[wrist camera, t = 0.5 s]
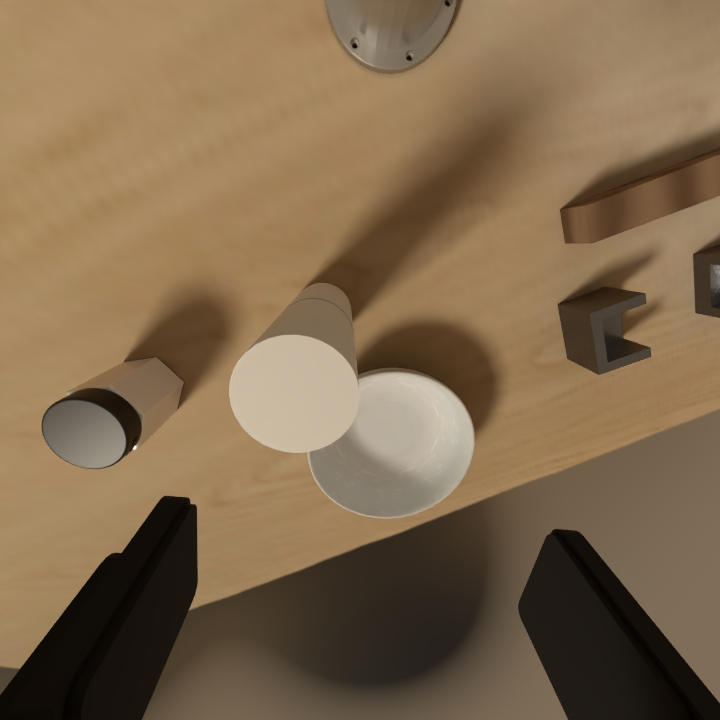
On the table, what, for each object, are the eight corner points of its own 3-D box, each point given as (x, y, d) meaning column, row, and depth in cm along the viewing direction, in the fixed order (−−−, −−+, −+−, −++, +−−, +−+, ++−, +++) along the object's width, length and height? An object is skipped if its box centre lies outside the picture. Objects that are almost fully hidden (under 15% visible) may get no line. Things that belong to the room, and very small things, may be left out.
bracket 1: (567, 358, 46) (598, 374, 40) (557, 304, 43) (589, 313, 37) (612, 342, 45) (651, 356, 40) (605, 286, 43) (645, 293, 37)
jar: (129, 419, 46) (58, 476, 35) (105, 363, 43) (20, 406, 32) (194, 409, 46) (144, 463, 34) (174, 352, 43) (113, 391, 32)
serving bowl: (487, 422, 49) (509, 450, 42) (381, 506, 53) (386, 543, 46) (390, 321, 43) (399, 335, 37) (280, 424, 47) (270, 452, 41)
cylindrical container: (360, 298, 42) (381, 367, 18) (337, 347, 44) (328, 469, 20) (307, 272, 41) (255, 311, 17) (285, 325, 43) (211, 426, 19)
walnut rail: (563, 243, 41) (592, 243, 36) (558, 209, 40) (587, 205, 35) (722, 183, 40) (773, 175, 35) (722, 146, 38) (775, 133, 34)
